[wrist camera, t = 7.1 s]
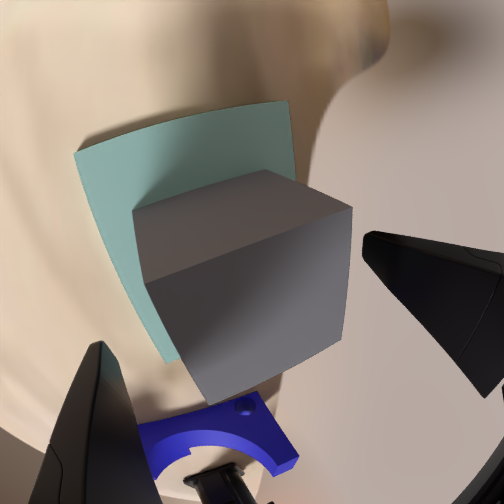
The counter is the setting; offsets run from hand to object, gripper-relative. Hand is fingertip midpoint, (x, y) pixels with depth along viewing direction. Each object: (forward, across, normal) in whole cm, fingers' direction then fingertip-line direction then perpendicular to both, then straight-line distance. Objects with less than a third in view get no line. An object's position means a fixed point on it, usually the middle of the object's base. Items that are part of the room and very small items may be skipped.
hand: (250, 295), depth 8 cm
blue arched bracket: (+4, +6, +13) cm, 15 cm away
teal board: (+4, 0, 0) cm, 4 cm away
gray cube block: (+3, 0, 0) cm, 3 cm away
